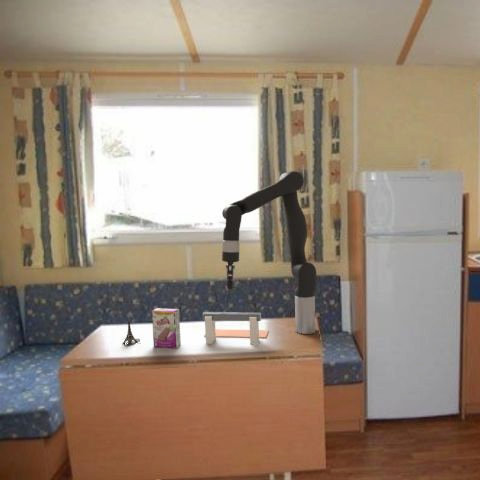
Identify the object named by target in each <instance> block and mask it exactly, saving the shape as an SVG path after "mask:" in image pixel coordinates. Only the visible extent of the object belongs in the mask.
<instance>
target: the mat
mask: <svg viewBox="0 0 480 480" xmlns="http://www.w3.org/2000/svg"><path fill="white" fill-rule="evenodd" d="M215 331H216V338H238V339H239V338H243V339H245V338H246V339H248V338H249V339H250V329H225V328H224V329H220V328H219V329H217V328H215ZM268 334H269V329H259V339H267V337H268ZM203 336H204V338H206V334H205V335H203Z"/></svg>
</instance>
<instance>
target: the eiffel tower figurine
mask: <svg viewBox="0 0 480 480" xmlns="http://www.w3.org/2000/svg"><path fill="white" fill-rule="evenodd" d="M127 321H128V322H127V323H128V324H127V334H126V337H125V338H124V339H125V340H124V341H123V343H122V345H123V344H124V346H126V347H132V346H133V345H136V343H137V344H139V343H138V342H140V339H141V338H135V336H134V335H133V333H132V329H131V321H130V318H129V317H128V318H127ZM126 342H127V343H128V344H127V343H126ZM125 343H126V344H127V345H125Z"/></svg>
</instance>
